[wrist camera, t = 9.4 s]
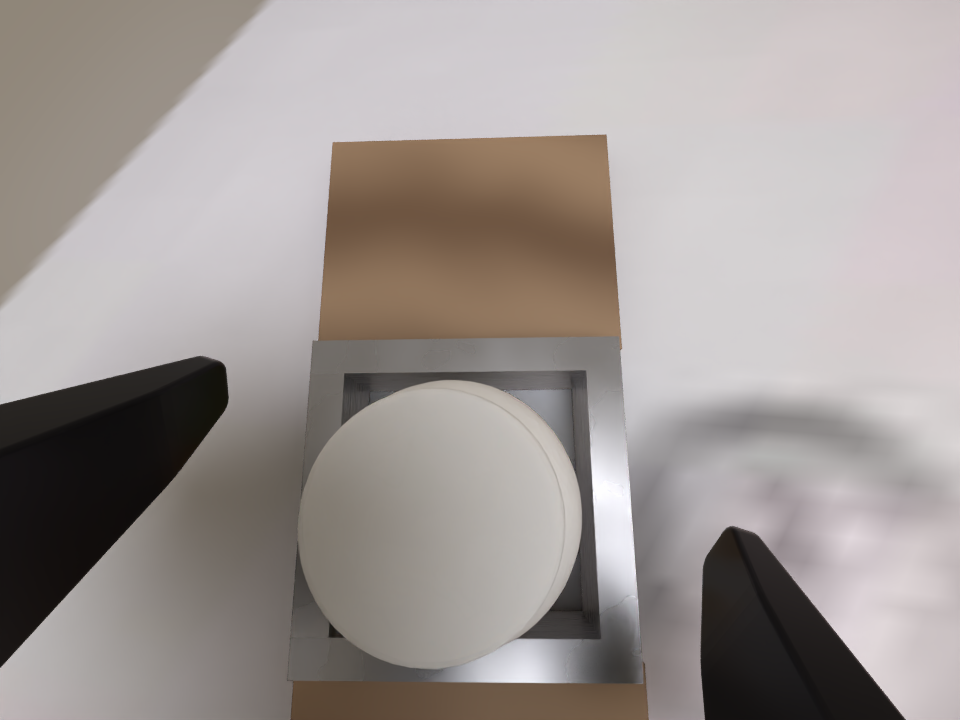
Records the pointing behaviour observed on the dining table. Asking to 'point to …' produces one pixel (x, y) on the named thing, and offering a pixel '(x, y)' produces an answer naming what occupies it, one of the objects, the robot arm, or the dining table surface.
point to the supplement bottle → (439, 524)
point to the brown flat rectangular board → (469, 327)
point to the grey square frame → (601, 479)
